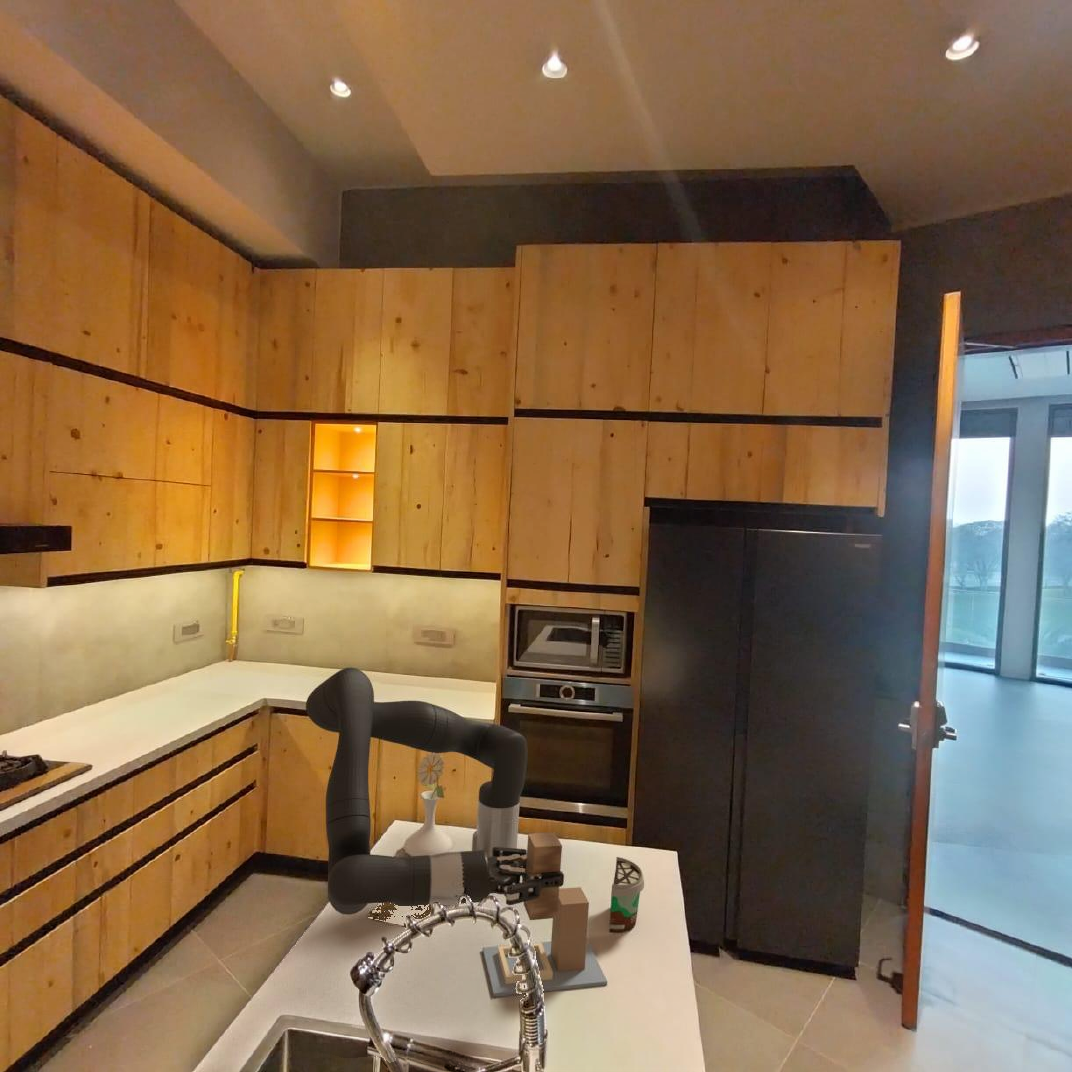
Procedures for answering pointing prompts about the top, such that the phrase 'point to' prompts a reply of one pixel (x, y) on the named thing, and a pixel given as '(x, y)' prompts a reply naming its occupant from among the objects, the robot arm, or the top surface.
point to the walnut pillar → (542, 859)
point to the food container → (625, 896)
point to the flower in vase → (429, 811)
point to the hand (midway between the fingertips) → (558, 870)
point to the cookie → (390, 907)
